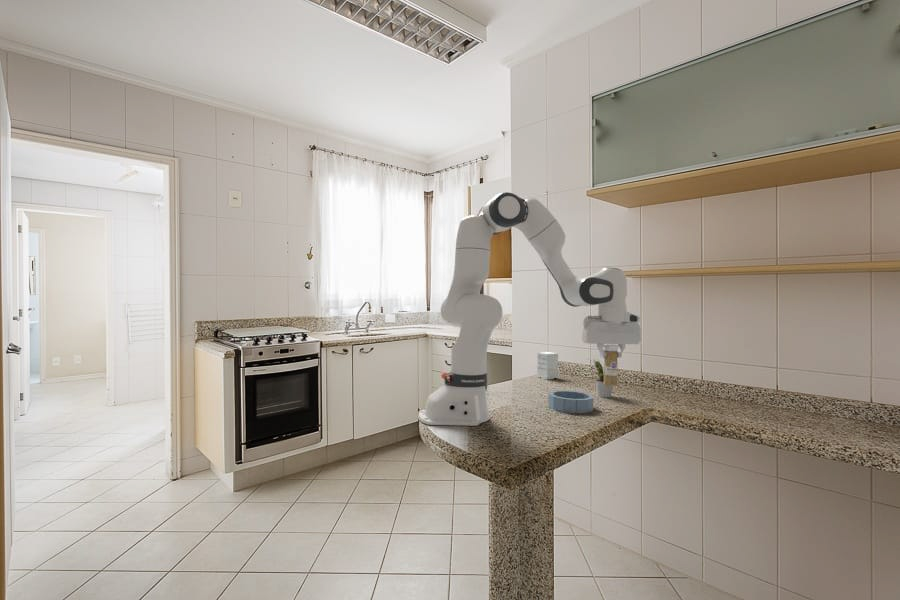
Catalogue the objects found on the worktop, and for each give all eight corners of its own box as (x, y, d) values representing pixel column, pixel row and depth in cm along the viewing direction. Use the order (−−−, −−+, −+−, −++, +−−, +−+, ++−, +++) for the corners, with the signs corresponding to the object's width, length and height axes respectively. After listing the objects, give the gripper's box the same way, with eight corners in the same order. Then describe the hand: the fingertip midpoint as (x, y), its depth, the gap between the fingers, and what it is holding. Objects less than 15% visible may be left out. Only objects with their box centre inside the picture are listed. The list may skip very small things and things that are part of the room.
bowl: (561, 413, 140) (561, 400, 140) (542, 403, 155) (542, 390, 155) (601, 412, 143) (601, 399, 143) (579, 402, 158) (579, 390, 158)
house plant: (583, 398, 164) (584, 356, 165) (581, 391, 178) (582, 352, 178) (622, 401, 161) (623, 358, 161) (617, 394, 174) (618, 354, 174)
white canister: (547, 376, 213) (548, 351, 214) (558, 378, 207) (558, 353, 207) (536, 377, 210) (537, 352, 210) (546, 379, 203) (547, 353, 203)
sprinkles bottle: (609, 386, 138) (610, 345, 138) (600, 384, 142) (600, 344, 143) (620, 385, 140) (621, 345, 140) (610, 383, 144) (611, 344, 144)
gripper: (589, 315, 136) (587, 358, 136) (644, 317, 140) (643, 358, 140) (579, 315, 142) (577, 355, 142) (632, 316, 146) (631, 356, 146)
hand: (610, 357), depth 141 cm, fingers closed on sprinkles bottle, 4 cm apart
